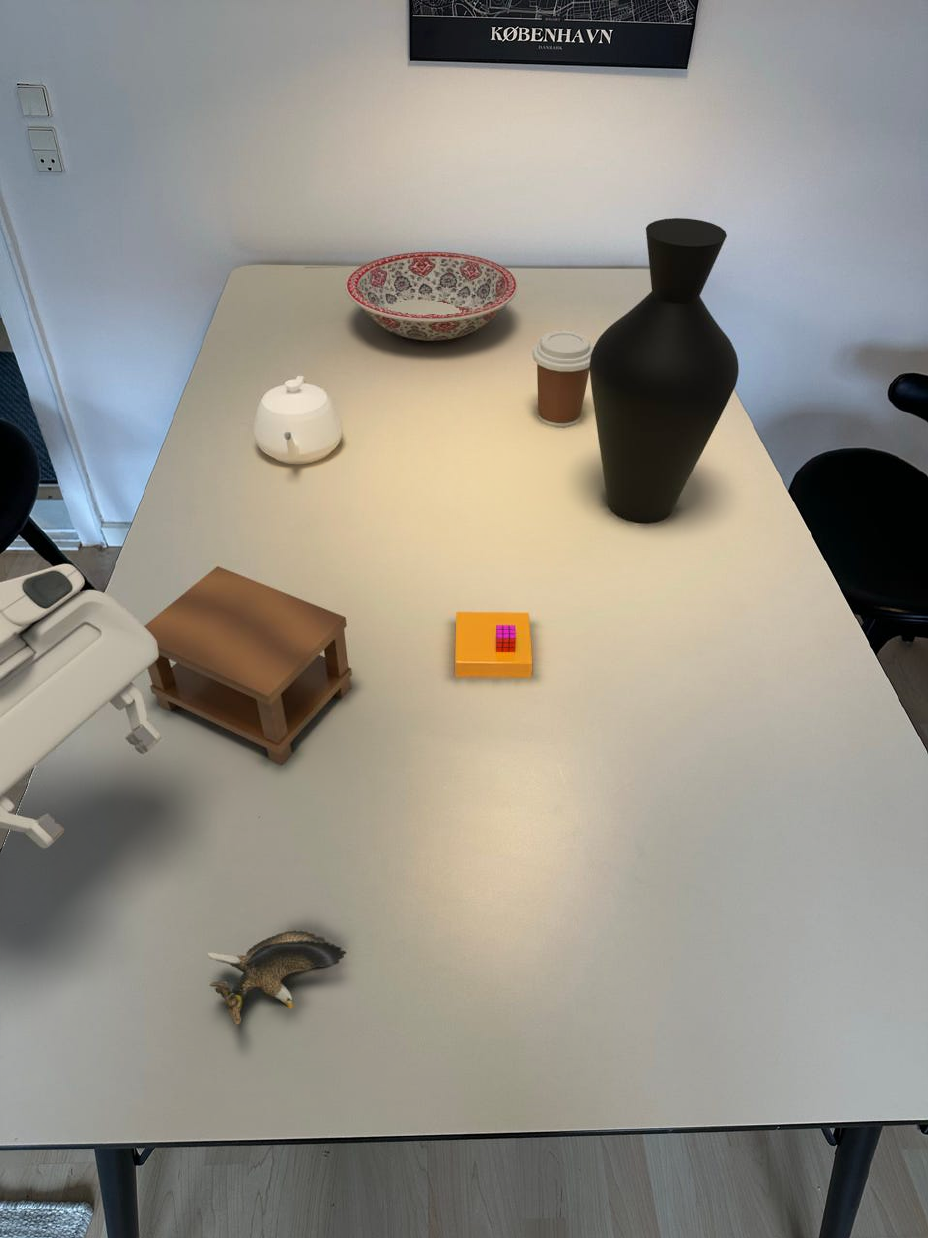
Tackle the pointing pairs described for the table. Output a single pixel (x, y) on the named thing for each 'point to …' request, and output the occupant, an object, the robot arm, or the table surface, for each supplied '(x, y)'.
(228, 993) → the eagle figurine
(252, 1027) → the table surface
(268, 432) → the teapot
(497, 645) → the orange block
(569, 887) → the table surface
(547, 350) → the coffee cup
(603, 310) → the table surface
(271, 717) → the shelf
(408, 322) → the ceramic bowl
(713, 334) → the vase
